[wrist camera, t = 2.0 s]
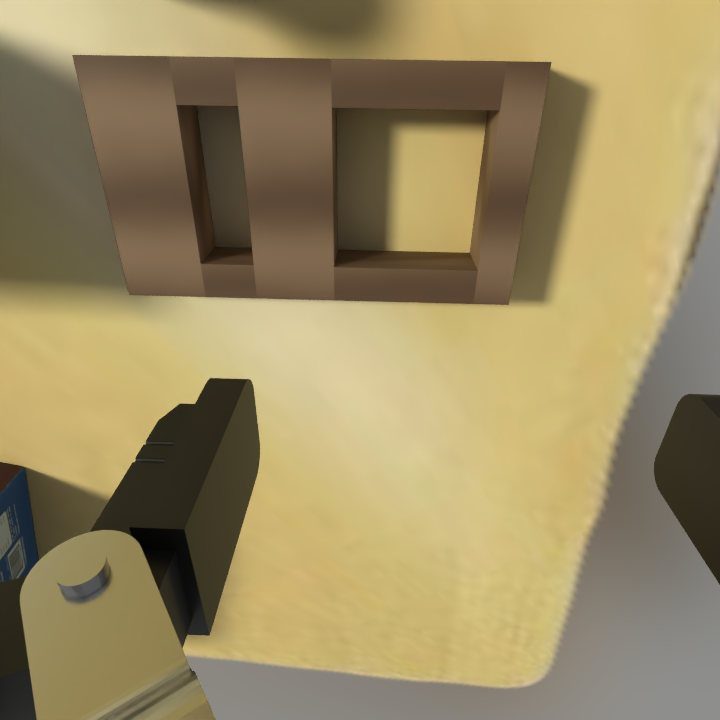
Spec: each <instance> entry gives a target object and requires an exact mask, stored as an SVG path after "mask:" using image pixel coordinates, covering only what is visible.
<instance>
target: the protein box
mask: <svg viewBox="0 0 720 720" xmlns="http://www.w3.org/2000/svg"><path fill="white" fill-rule="evenodd" d="M38 561H39V560H38V553H37V546H36V541H35V534H34V526H33V519H32V513H31V506H30V499H29V492H28V486H27V479H26V473H25V469H24V468H23V467H21V466H15V465H10V464H4V463H0V582H3V581H8V580H12V579H16V578H20V577H23V576H27V575H28V574H29V572H30V571H31V569H32V568H33V567H34V566H35V564H36V563H37V562H38Z"/></svg>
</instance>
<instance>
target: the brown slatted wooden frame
mask: <svg viewBox="0 0 720 720" xmlns="http://www.w3.org/2000/svg"><path fill="white" fill-rule="evenodd" d="M73 60H74V64H75V68H76V72H77V76H78V81H79V85H80V89H81V93H82V98H83V102H84V106H85V110H86V115H87V119H88V123H89V127H90V131H91V136H92V140H93V144H94V148H95V153H96V157H97V161H98V165H99V169H100V174H101V178H102V182H103V186H104V191H105V195H106V199H107V203H108V208H109V212H110V216H111V220H112V224H113V229H114V233H115V237H116V241H117V246H118V250H119V254H120V258H121V263H122V267H123V271H124V275H125V279H126V284H127V288H128V292H129V295H152V296H191V297H229V298H268V299H306V300H345V301H383V302H422V303H460V304H499V305H508V304H509V299H510V293H511V287H512V282H513V276H514V270H515V265H516V259H517V254H518V248H519V242H520V237H521V231H522V225H523V220H524V214H525V208H526V203H527V197H528V191H529V186H530V180H531V174H532V169H533V163H534V157H535V152H536V146H537V140H538V135H539V129H540V123H541V118H542V112H543V106H544V101H545V95H546V89H547V84H548V78H549V72H550V67H551V62H505V61H438V60H371V59H304V58H237V57H169V56H102V55H73ZM196 105H209V106H238V110H239V120H240V130H241V141H242V151H243V161H244V171H245V181H246V192H247V202H248V212H249V222H250V232H251V242H252V248H236V247H215V239H214V232H213V225H212V217H211V210H210V203H209V195H208V188H207V180H206V173H205V166H204V158H203V151H202V144H201V136H200V129H199V122H198V114H197V107H196ZM336 108H384V109H442V110H488V114H487V122H486V130H485V137H484V145H483V153H482V161H481V169H480V177H479V185H478V192H477V200H476V208H475V216H474V224H473V232H472V240H471V248H470V253H448V252H405V251H363V250H338V217H337V114H336Z"/></svg>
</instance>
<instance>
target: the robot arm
mask: <svg viewBox="0 0 720 720" xmlns="http://www.w3.org/2000/svg"><path fill="white" fill-rule="evenodd" d="M259 459H260V442H259V432H258V424H257V415H256V406H255V397H254V389H253V384H252V382H251V380H250V379H221V378H211V379H209V380H208V381H207V383H206V385H205V387H204V388H203V390H202V392H201V394H200V396H199V398H198V400H197V401H196V403H195V404H179V405H178V406H177V407H175V408H174V409H173V410H171V411H170V412H169V413H168V414H166V415H165V416H164V417H162V418H161V419H160V420H159V421H158V422H157V424H156V425H155V427H154V429H153V430H152V432H151V434H150V435H149V437H148V438H147V440H146V445H143V447H142V448H141V450H140V451H139V453H138V455H137V456H136V461H135V462H133V463H132V464H131V466H130V468H129V469H128V471H127V473H126V474H125V476H124V477H123V479H122V481H121V482H120V484H119V486H118V487H117V489H116V490H115V492H114V494H113V495H112V497H111V499H110V500H109V502H108V504H107V505H106V507H105V508H104V510H103V512H102V513H101V515H100V517H99V518H98V520H97V521H96V523H95V525H94V526H93V528H92V529H91V531H90V532H88V533H84V534H81V535H79V536H76V537H73V538H71V539H69V540H67V541H65V542H63V543H61V544H60V545H58V546H56V547H55V548H53V549H52V550H51V551H49V552H48V553H47V554H46V555H45V556H43V557H42V558H41V559H40V560H39V561H38V562H37V563H36V564H35V566H34V567H33V568H32V569H31V571H30V572H29V574H28V575H27V576H23V577H20V578H16V579H12V580H8V581H3V582H0V720H216V719H215V717H214V714H213V712H212V710H211V707H210V705H209V702H208V700H207V698H206V695H205V693H204V690H203V688H202V686H201V684H200V682H199V679H198V677H197V675H196V673H195V672H194V671H192V670H191V668H190V666H189V664H188V661H187V659H186V656H185V654H184V651H183V649H182V648H183V645H184V642H185V639H186V636H187V635H210V632H211V628H212V625H213V622H214V618H215V615H216V612H217V608H218V605H219V602H220V598H221V595H222V591H223V588H224V585H225V581H226V578H227V575H228V571H229V568H230V565H231V561H232V558H233V554H234V551H235V548H236V544H237V541H238V538H239V534H240V531H241V528H242V524H243V521H244V517H245V514H246V511H247V507H248V504H249V501H250V497H251V494H252V490H253V487H254V484H255V480H256V477H257V473H258V468H259ZM654 475H655V481H656V484H657V487H658V489H659V491H660V492H661V494H662V496H663V497H664V499H665V500H666V502H667V503H668V505H669V507H670V508H671V510H672V511H673V513H674V514H675V516H676V518H677V519H678V521H679V522H680V524H681V525H682V527H683V528H684V530H685V531H686V533H687V535H688V536H689V538H690V539H691V541H692V542H693V544H694V545H695V547H696V548H697V550H698V552H699V553H700V555H701V556H702V558H703V559H704V561H705V562H706V564H707V565H708V567H709V568H710V570H711V571H712V573H713V575H714V576H715V578H716V579H717V581H718V583H719V584H720V395H703V394H702V395H701V394H688V395H685V396H684V397H682V398H681V400H680V401H679V402H678V404H677V406H676V409H675V411H674V414H673V416H672V419H671V421H670V423H669V426H668V429H667V431H666V433H665V436H664V438H663V441H662V443H661V446H660V448H659V450H658V453H657V455H656V458H655V463H654Z"/></svg>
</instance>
